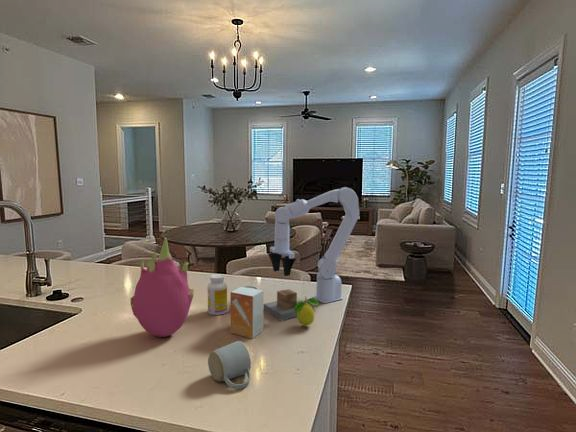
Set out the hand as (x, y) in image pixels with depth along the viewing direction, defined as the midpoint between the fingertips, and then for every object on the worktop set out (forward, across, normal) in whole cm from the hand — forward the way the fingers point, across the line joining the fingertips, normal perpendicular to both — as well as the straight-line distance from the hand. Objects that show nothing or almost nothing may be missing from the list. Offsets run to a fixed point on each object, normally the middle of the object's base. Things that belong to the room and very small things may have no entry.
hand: (281, 273), depth 146 cm
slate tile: (+10, +13, -6) cm, 17 cm away
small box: (+10, +21, -26) cm, 35 cm away
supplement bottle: (+10, +1, -27) cm, 29 cm away
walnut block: (+8, +13, -6) cm, 16 cm away
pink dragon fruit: (+10, +10, -48) cm, 50 cm away
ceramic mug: (+10, +42, -41) cm, 60 cm away
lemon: (+10, +27, -8) cm, 30 cm away
